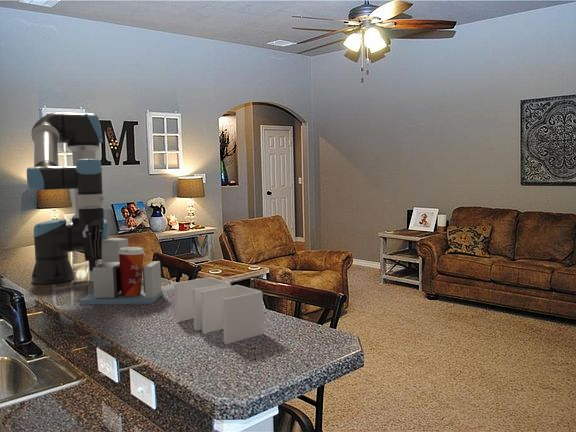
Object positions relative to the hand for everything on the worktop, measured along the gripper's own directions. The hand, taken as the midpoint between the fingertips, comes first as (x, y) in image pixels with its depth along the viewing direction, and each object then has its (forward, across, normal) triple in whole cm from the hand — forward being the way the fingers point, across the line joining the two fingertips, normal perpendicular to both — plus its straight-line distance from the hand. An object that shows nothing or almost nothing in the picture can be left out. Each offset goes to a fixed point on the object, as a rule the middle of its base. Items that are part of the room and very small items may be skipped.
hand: (94, 280), depth 168 cm
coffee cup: (+5, 0, -12) cm, 13 cm away
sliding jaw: (+5, 0, -5) cm, 7 cm away
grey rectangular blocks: (+7, -31, -45) cm, 55 cm away
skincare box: (+7, +34, +6) cm, 35 cm away
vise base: (+7, 0, -9) cm, 11 cm away
